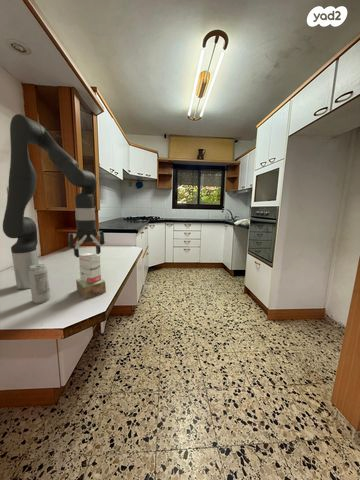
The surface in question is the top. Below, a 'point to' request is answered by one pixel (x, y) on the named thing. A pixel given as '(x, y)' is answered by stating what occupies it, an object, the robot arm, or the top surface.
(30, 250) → the robot arm
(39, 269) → the energy drink can
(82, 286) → the stand
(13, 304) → the top surface
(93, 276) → the ink box
